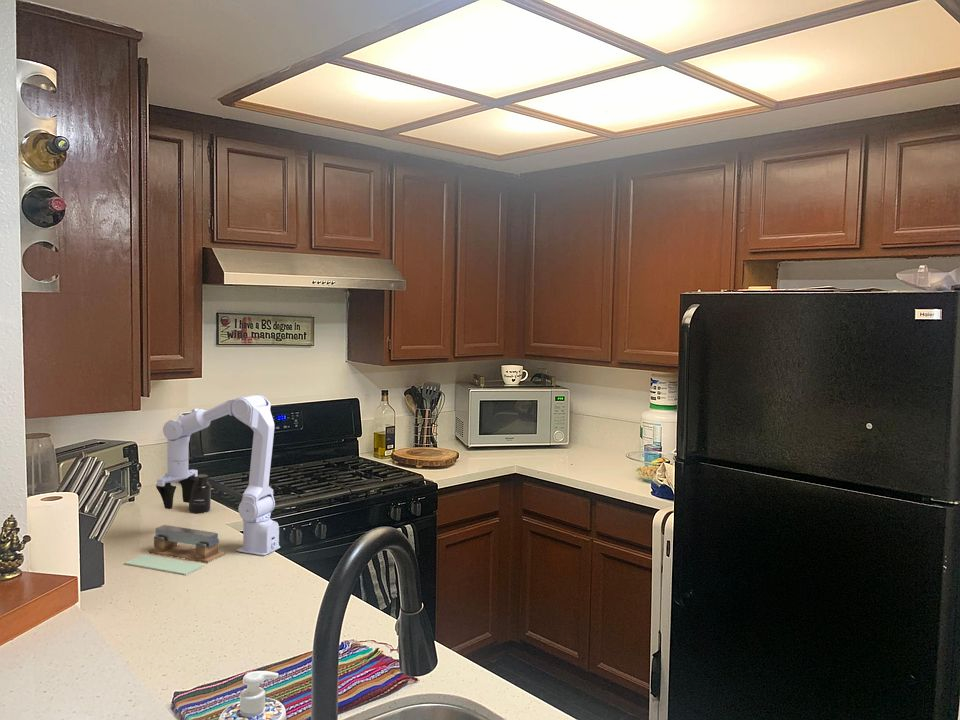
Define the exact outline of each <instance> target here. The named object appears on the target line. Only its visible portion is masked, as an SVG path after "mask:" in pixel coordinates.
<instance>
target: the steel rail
mask: <svg viewBox="0 0 960 720" xmlns="http://www.w3.org/2000/svg"><path fill="white" fill-rule="evenodd" d="M154 529H155V535H154V536H159V537H164V540H166V541H172V542H177V544H178V543H179V544H185V545H191V546H196V543H202V544H206V547H212V546H214V545H216V544H218V539H219V533H218V532H215V531H214V532H213V531H207V530H200V529H195V528H188V527H182V526H175V525H166V524H163V525H160V526H158V527H156V528H154Z"/></svg>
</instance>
